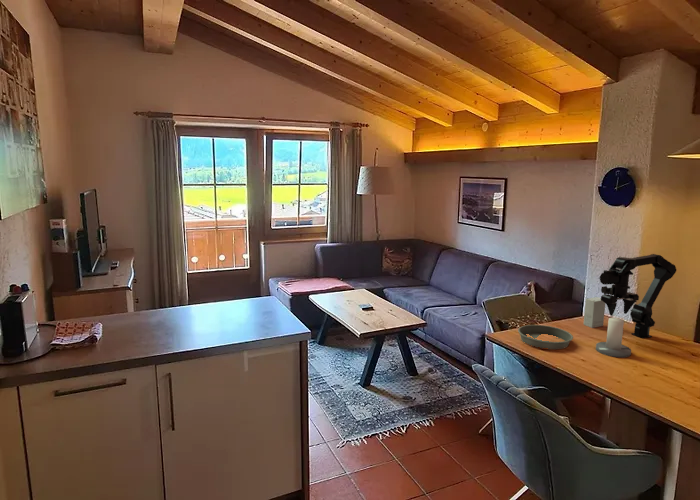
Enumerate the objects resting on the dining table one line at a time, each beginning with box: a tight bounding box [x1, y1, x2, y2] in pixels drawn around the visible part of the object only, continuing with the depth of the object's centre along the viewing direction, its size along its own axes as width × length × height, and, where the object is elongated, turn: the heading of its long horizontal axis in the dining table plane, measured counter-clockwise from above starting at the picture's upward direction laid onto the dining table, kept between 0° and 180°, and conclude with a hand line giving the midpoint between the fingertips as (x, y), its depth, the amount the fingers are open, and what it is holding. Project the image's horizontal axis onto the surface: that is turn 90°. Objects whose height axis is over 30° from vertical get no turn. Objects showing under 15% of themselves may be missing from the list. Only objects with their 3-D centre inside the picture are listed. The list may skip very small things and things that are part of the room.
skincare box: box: [583, 296, 606, 329], centre depth 245 cm, size 8×6×15 cm
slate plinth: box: [595, 341, 632, 359], centre depth 210 cm, size 14×14×2 cm
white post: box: [605, 317, 625, 350], centre depth 209 cm, size 6×6×13 cm
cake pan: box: [517, 324, 574, 350], centre depth 222 cm, size 25×25×4 cm
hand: (618, 314), depth 226 cm, fingers open, 9 cm apart
